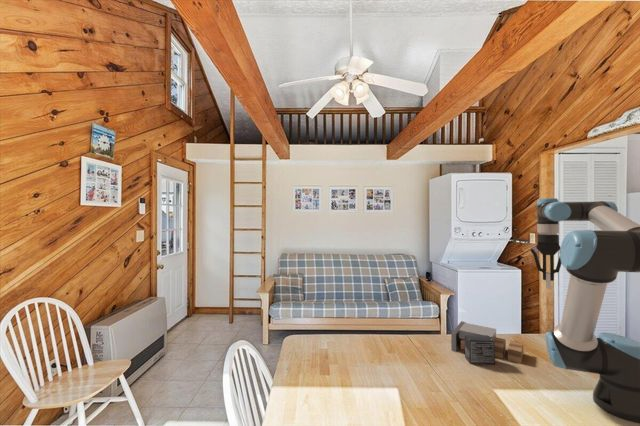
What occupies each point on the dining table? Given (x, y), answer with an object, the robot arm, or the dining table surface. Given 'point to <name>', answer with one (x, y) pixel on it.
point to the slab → (476, 331)
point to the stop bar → (456, 337)
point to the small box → (479, 349)
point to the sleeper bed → (509, 350)
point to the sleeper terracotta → (462, 343)
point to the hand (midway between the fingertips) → (548, 287)
